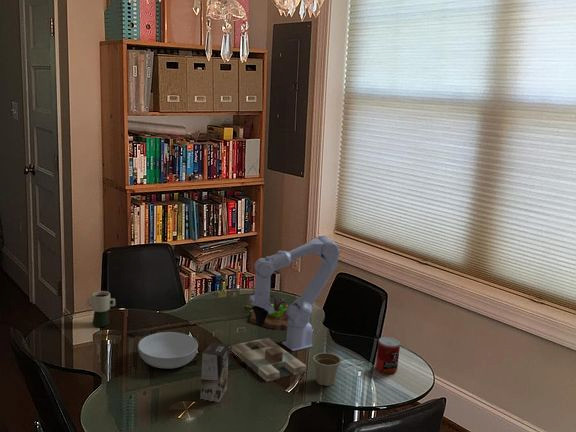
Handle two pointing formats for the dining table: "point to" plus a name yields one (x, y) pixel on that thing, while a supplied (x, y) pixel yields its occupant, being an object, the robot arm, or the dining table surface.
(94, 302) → the character mug
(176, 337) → the serving bowl
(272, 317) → the plant
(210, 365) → the coffee box
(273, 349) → the walnut block
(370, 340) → the dining table surface
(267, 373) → the cream slotted board
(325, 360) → the flower pot
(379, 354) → the canned food
